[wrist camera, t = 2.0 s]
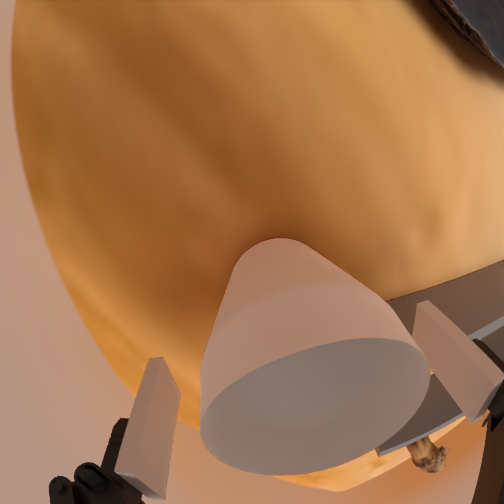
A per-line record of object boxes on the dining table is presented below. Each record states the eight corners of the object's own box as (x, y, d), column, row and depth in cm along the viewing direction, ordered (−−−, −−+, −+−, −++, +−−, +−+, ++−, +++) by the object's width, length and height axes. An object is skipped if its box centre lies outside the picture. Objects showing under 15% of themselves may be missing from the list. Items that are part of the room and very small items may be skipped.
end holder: (362, 308, 21) (402, 364, 14) (506, 258, 21) (548, 284, 14) (353, 410, 26) (372, 458, 19) (479, 355, 26) (506, 385, 19)
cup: (295, 348, 22) (333, 479, 10) (192, 306, 20) (162, 454, 8) (361, 256, 19) (467, 363, 8) (253, 194, 17) (289, 279, 6)
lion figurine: (434, 423, 31) (456, 460, 22) (409, 441, 32) (427, 480, 23) (408, 400, 27) (437, 452, 18) (374, 424, 28) (397, 478, 19)
